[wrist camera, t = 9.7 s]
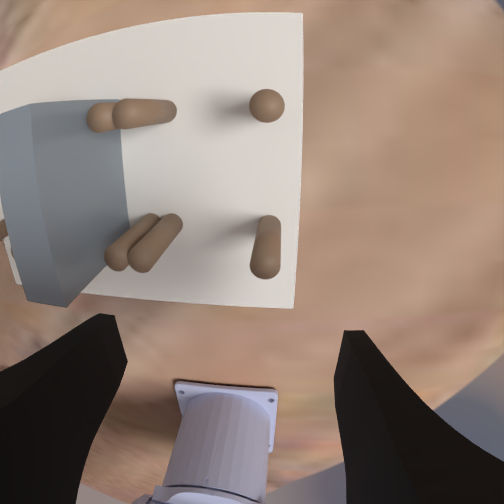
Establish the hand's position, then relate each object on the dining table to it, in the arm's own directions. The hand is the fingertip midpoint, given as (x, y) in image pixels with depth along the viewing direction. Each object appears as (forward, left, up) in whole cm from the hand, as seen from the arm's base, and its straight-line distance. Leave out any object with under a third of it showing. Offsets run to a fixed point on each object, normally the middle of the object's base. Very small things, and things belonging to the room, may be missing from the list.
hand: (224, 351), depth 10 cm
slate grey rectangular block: (+4, +8, -8) cm, 12 cm away
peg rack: (+4, +8, -9) cm, 13 cm away
